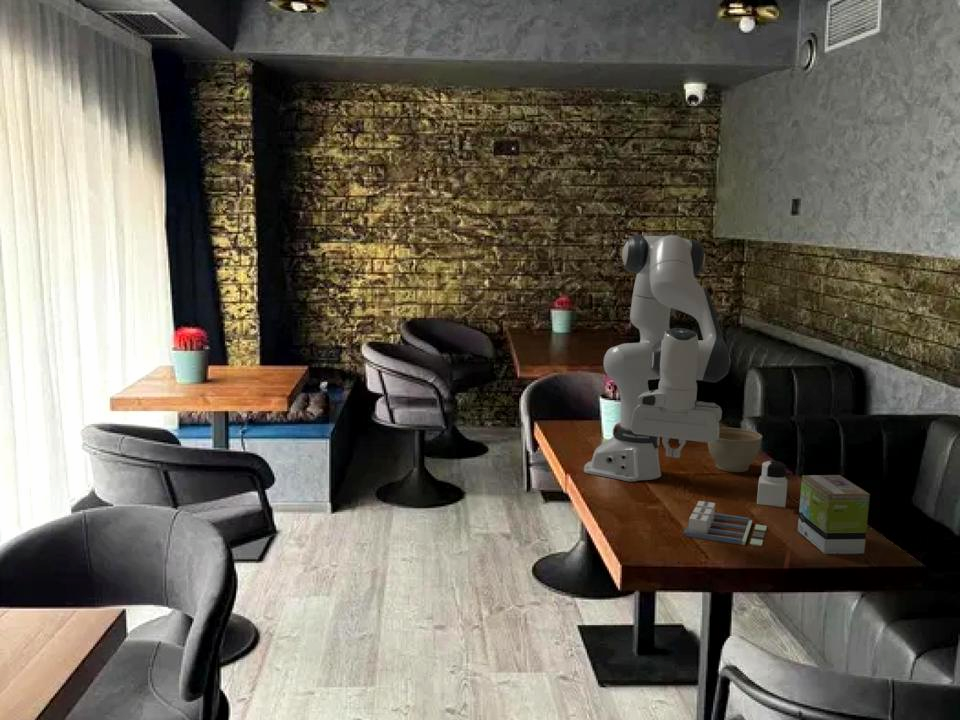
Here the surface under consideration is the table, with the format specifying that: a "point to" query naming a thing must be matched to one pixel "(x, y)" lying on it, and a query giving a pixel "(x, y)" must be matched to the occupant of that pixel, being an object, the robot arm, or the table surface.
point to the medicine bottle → (772, 484)
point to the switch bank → (729, 539)
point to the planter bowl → (735, 449)
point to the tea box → (833, 514)
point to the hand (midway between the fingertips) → (672, 456)
